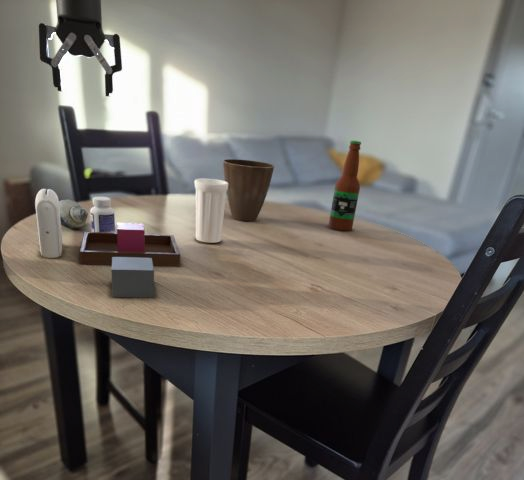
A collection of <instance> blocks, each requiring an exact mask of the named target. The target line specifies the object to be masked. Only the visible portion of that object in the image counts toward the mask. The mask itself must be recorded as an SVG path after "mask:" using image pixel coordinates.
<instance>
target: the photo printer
mask: <svg viewBox="0 0 524 480" xmlns="http://www.w3.org/2000/svg"><path fill="white" fill-rule="evenodd" d="M59 201H60V200H59V196H58V194H57V193H56V192H55V191H54V190H53V189H51V188H48V189H47V188H41V189H40V190H38V192H37V193H36V196H35V201H34V206H35V215H36V224H37V225H36V226H37V233H38V243H39V251H40V254H41V256H42V257H44V258H48V259H56V258H59V257H61V256H62V253H63V234H62V232H63V231H62V225H61V220H60V210H59Z"/></svg>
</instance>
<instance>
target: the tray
mask: <svg viewBox="0 0 524 480" xmlns="http://www.w3.org/2000/svg"><path fill="white" fill-rule="evenodd" d="M112 257H138V258H152V262H153V267H180V266H181V253H180V250H179V247H178V245H177V241H176V238H175V235H174V234H153V233H152V234H151V233H150V234H148V233H145V252H118V243H117V232H115V233H103V232H92V231H84V233H83V237H82V241H81V245H80V249H79V260H80V262H79V263H80V265H99V266H101V265H104V266H105V265H106V266H112Z"/></svg>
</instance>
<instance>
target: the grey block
mask: <svg viewBox="0 0 524 480" xmlns="http://www.w3.org/2000/svg"><path fill="white" fill-rule="evenodd" d="M110 270H111V271H110V272H111V291H112V292H111V295H112V296H111V297H112V298H155V268H154V266H153V262H152V258H138V257H112V265H111V269H110Z"/></svg>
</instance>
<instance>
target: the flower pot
mask: <svg viewBox="0 0 524 480" xmlns="http://www.w3.org/2000/svg"><path fill="white" fill-rule="evenodd" d="M222 163H223V164H222V165H223V168H222V169H223V179H224V180H223V181H226V182H228V189H227V192H226V199H227V202H228V203H227V204H228V206H229V211H230V214H231V217H232V219H234V220H237V221H241V222H255V221H256V220H257V219H258V217H259V215H260V213H261V210H262V208H263V206H264V203H265V201H266V198H267V194H268V192H269V189H270V185H271V182H272V178H273V173H274V170H275V164H272V163H269V162H262V161H256V160H249V159H248V160H247V159H239V158H238V159H234V158H228V159H226V158H225V159H223V160H222Z"/></svg>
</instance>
